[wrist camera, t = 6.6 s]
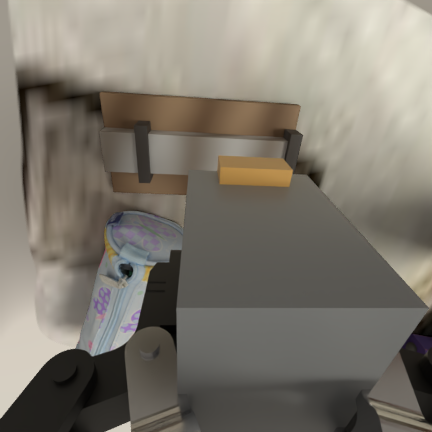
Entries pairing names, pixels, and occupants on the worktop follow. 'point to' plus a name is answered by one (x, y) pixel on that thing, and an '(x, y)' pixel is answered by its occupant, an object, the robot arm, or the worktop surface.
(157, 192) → the rail board
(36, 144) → the worktop surface
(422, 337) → the pistol
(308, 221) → the din module
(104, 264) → the pencil case
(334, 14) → the worktop surface
